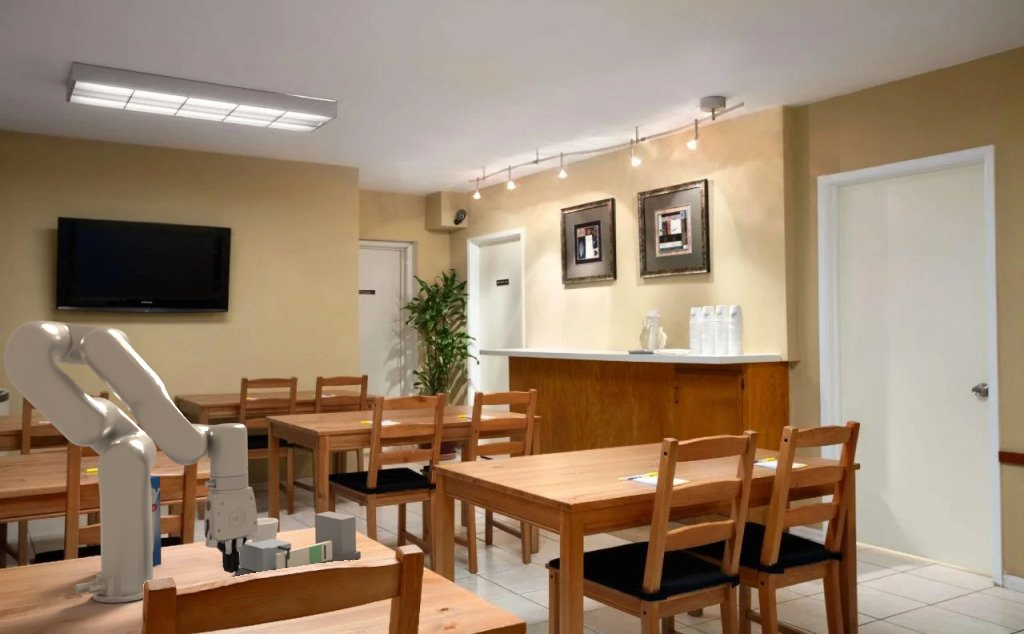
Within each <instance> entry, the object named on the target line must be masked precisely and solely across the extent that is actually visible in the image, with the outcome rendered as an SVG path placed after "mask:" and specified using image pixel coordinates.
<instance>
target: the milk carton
mask: <svg viewBox="0 0 1024 634" xmlns="http://www.w3.org/2000/svg"><path fill="white" fill-rule="evenodd" d="M150 480H151V496H152V545H153V567H156V566H159V565H162V528H161V527H162V525H161V523H162V521H161V520H162V519H161V517H162V516H161V513H162V512H161V506H162V505H161V476H158V475H152V474H150Z"/></svg>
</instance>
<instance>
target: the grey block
mask: <svg viewBox="0 0 1024 634" xmlns="http://www.w3.org/2000/svg"><path fill="white" fill-rule="evenodd" d="M290 550H292V543H291V542H288V541H285V540H281V539H277V538H276V539H269V540H264V541H260V542H256V543H252V541H251V542H250V541H249V540H248V541H246V542H245V544H244V545H243V546H242V550H241V551H240V552H239V558H240V565H239V566H240V567H243V568H246V569H249V570H253V571H256V572H262V571H268V570H274V569H276V554H277V553H282V552H286V551H287V559H288V560H289V559H290Z"/></svg>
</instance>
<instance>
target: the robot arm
mask: <svg viewBox="0 0 1024 634" xmlns="http://www.w3.org/2000/svg"><path fill="white" fill-rule="evenodd" d="M4 347H5V348H4V351H3V352H4V354H3V364H4V370H5V373H6V374H7V378H8V379H9V381H10V383H11V384H12V385H13V387H14V388H15V389H16V391H17V392H18V393H20V395H21V396H22V397H23V398H25V400H26V401H28V402H29V403H30V404H31V406H33V407H34V408H35V409H36V410H37V411H38V412H39V414H41V415H42V416H43V417H44V418H45V419H46V420H47V421H48V422H49V423H51V425H52V426H53V427H54V428H56V429H57V430H58V431H59V432H60V433H61V434H62V435H63V436H64V437H65V438H66V439H67V441H69V442H70V443H71V444H73V445H76V446H79V447H90V448H91V449H92V450H93V451H94V452H96V454H98V455H99V458H98V462H97V479H98V490H99V509H100V511H99V513H100V515H99V516H100V517H99V518H100V573H96V574H95V578H94V579H92V580H91V581H89V582H82V583H77V584H75V587H74V590H75V593H76V595H80V594H85V593H87V594H88V595H90V594H92V598H93V600H94V601H96V602H98V603H99V602H100V603H105V604H106V603H108V604H109V603H110V604H115V603H127V602H134V601H139V600H142V598H143V584H144V582H145V581H147V580H154V566H153V545H152V496H151V480H150V475H151V469H153V467H154V465H155V464H156V462H157V456H158V450H157V447H158V448H159V449H160V450H161V451H162V453H164V455H165V456H166V457H168V459H169V460H171V461H172V462H174V463H175V464H177V465H181V466H190V465H194V464H197V463H198V462H199V461H200V460H201V459H203V458H208V457H209V474H210V475H209V480H206V481H205V482H204V487H205V488H206V489H208V488H209V489H210V490H209V491H207V496H206V499H205V505H204V506H205V507H204V519H203V521H204V522H203V525H204V526H203V531H204V538H205V539H206V540H205V547H207V548H210V549H211V548H214V549H218V551H219V552H220V553H222V554H221V555H222V559H221V560H222V569H223V571H224V572H226V573H230V574H233V573H234V574H235V572H237V571H239V566H240V551H241V550H242V546H243V545H244V544H245V542H246V541H248V542H249V541H250V540H252V538H254V537H255V533H256V532H257V528H258V523H257V519H258V511H257V504H256V499H255V493H254V490H253V489H254V488H253V487H252V486H249V460H248V459H249V458H248V457H249V456H248V455H249V452H248V451H249V450H248V429H247V426H246V425H245V424H243V423H237V422H233V423H232V422H231V423H230V422H228V423H220V424H202V423H191V422H190V421H189V420H188V419H187V418H186V417H185V416H184V414H183V413H182V412H181V411H180V410H179V409H178V407H177V406H176V405H175V404H174V402H173V400H172V399H171V398H170V396H169V395H168V392H167V390H166V387H165V384H164V382H163V381H162V379H161V377H160V376H159V375H158V374H157V373H156V372H155V371H154V370H153V369H152V368H151V366H149V365H148V363H147V362H146V361H145V360H144V359H143V358H142V357H141V356H140V354H138V353H137V352H136V350H135V349H134V348H133V347H132V343H131V340H130V338H129V337H128V336H127V334H126V333H125V332H124V331H122V330H121V329H119V328H115V327H109V326H108V327H103V326H91V325H84V324H76V323H68V322H60V321H52V320H31V321H27V322H25V323H23V324H21V325H19V326H18V327H17V328H16V329H14V330H13V332H12V333H11V334H10V336H9V338H8V340H7V342H6V343H5V346H4ZM57 363H58V364H69V365H78V366H88V368H89V369H90V370H91V371H92V372H93V373H94V375H96V376H97V377H98V379H99V380H101V381H102V382H103V384H105V386H106V387H107V388H108V389H109V390H110V391H111V392H112V394H114V395H115V396H116V397H117V399H118V400H119V401H120V402H121V403H122V404H123V406H125V408H126V409H127V411H128V412H129V414H130V415H131V416H132V417H133V418H134V420H135V421H136V422H137V423H138V424H137V423H135V422H134V421H133V420H132V419H131V418H130V417H129V416H128V415H127V414H126V413H125V412H123V410H122V409H121V408H119V407H118V406H117V405H116V404H115V403H113V402H112V401H110V400H109V399H106V398H104V397H101V396H100V397H99V396H91V395H90V394H88V392H87V391H85V390H84V389H83V388H82V387H81V386H80V385H79V384H78V383H77V382H76V381H75V380H74V379H73V377H72V378H71V376H70V375H68V374H67V373H66V372H64V371H63V370H62V369H61V368H60V367H59V366H58V365H57ZM138 425H139V426H140V427H139V426H138ZM156 446H157V447H156ZM143 599H144V598H143Z"/></svg>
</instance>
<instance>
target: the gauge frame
mask: <svg viewBox="0 0 1024 634" xmlns="http://www.w3.org/2000/svg"><path fill="white" fill-rule="evenodd" d="M314 522H315V523H314V528H315V531H314V532H315V534H314V535H315V544H311V545H307V546H302V547H299V548H294V549H291V550H290V559H289V560H288V559H287V551H286V552H282V553H277V554H276V569H282V568H289V567H297V566H302V565H309V564H315V563H326V562H333V561H344V560H352V561H354V560H353V559H356V560H359V559H361V557H362V556H361V553H362V552H361V551H359V550H357V531H356V530H357V529H356V528H357V527H356V523H357V522H356V516H354V515H350V514H349V515H348V514H345V513H344V514H343V513H338V512H333V511H330V510H329V511H323V512H319V513H315V514H314ZM276 569H274V570H276ZM250 573H256V571H253V570H249V569H246V568H243V567H240V565H239V571H237V572H234V575H236V576H239V575H244V574H250Z"/></svg>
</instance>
